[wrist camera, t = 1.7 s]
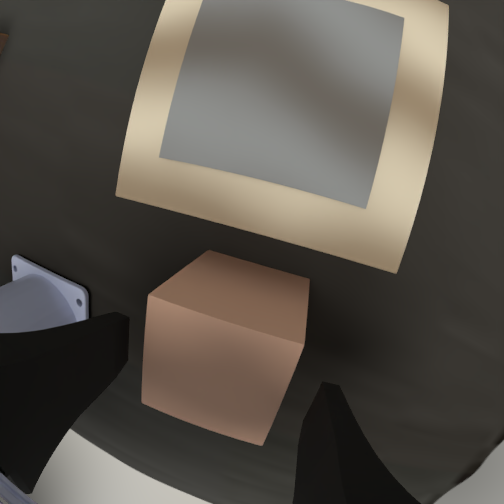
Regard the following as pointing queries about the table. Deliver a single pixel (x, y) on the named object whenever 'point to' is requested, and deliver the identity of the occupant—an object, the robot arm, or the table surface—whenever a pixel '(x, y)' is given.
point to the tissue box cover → (3, 41)
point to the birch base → (291, 119)
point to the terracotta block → (224, 344)
